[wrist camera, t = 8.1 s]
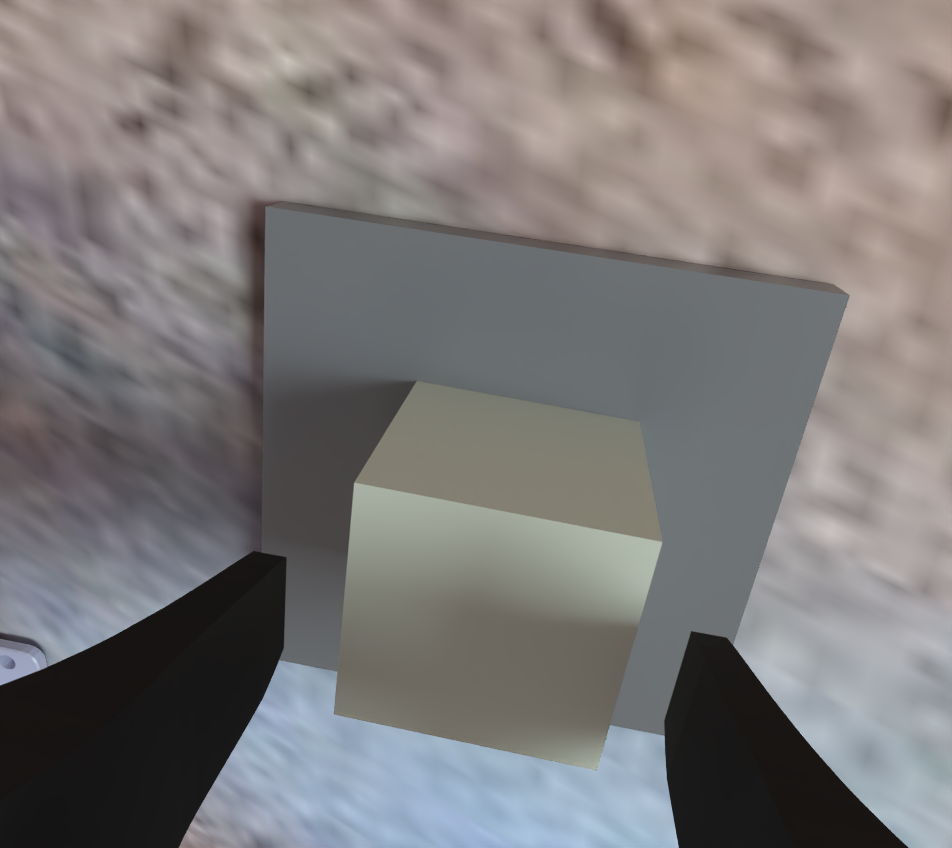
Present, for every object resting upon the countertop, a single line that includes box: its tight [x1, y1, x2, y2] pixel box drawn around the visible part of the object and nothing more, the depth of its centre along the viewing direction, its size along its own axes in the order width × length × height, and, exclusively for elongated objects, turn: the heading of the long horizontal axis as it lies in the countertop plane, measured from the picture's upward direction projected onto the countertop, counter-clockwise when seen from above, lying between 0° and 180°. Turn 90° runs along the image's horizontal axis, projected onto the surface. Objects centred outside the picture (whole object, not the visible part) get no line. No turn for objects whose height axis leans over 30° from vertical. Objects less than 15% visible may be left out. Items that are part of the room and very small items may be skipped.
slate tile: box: [261, 201, 850, 736], centre depth 18 cm, size 12×12×1 cm
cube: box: [334, 381, 662, 770], centre depth 15 cm, size 5×5×5 cm
